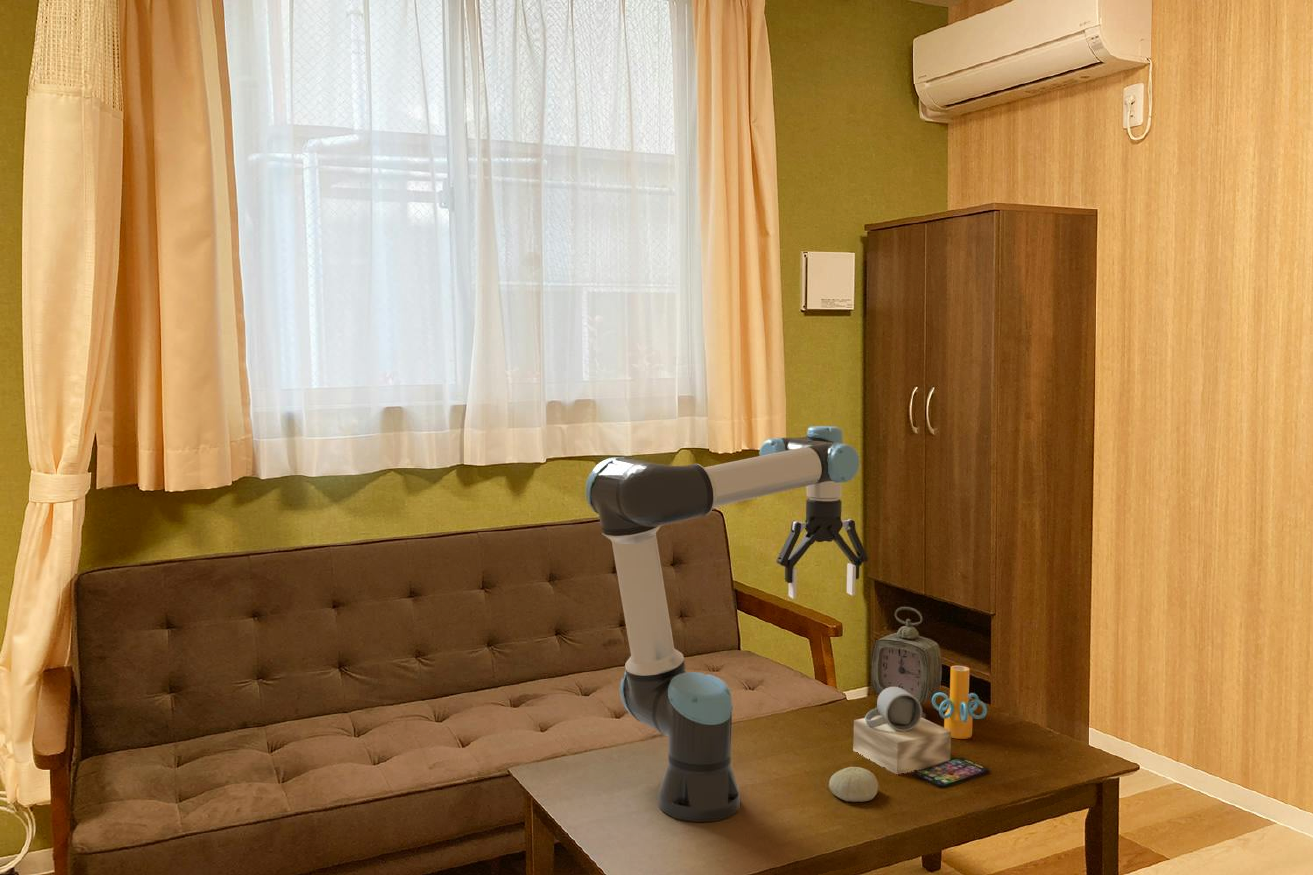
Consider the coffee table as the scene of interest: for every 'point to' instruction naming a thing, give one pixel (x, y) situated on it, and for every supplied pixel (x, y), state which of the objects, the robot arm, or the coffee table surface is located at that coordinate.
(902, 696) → the ceramic mug
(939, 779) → the smartphone
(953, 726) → the ring toss post
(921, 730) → the birch block
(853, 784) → the sea urchin shell
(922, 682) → the tabletop clock
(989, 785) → the coffee table surface
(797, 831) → the coffee table surface
